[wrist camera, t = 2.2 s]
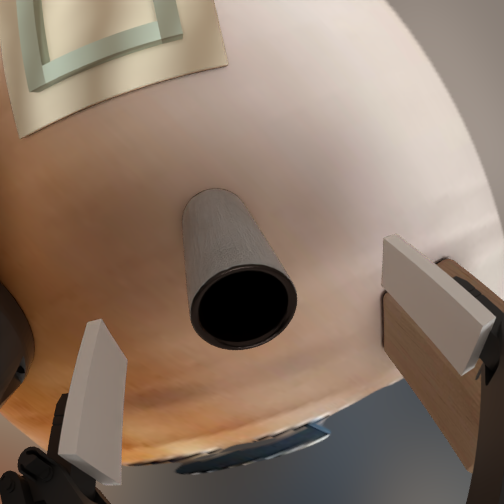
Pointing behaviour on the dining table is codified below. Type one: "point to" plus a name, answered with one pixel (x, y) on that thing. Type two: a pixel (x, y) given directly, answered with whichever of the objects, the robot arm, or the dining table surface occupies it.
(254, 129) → the dining table surface
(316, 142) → the dining table surface
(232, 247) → the grey hollow tube
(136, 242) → the dining table surface
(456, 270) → the block
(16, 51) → the stand
